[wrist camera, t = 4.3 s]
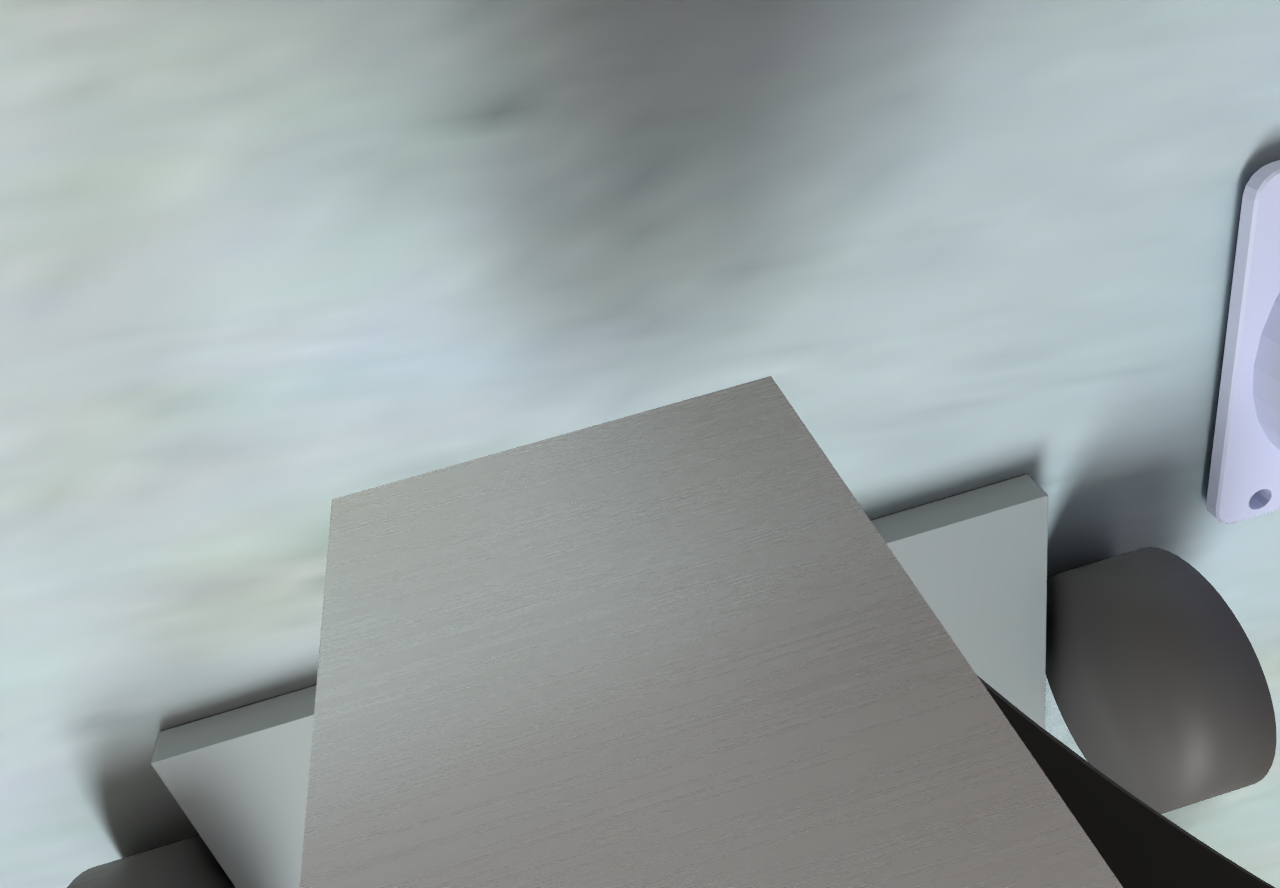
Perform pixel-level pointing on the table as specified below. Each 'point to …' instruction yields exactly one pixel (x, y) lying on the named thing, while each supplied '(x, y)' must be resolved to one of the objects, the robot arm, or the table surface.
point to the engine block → (656, 680)
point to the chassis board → (968, 610)
